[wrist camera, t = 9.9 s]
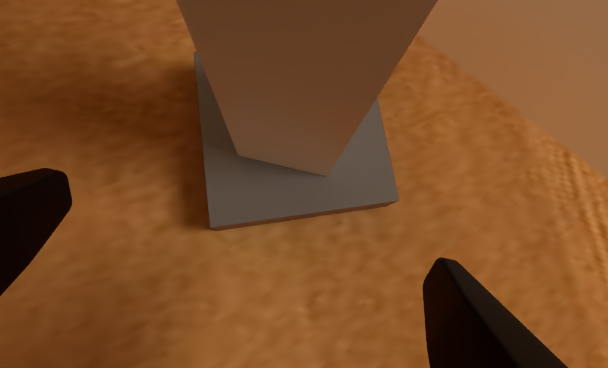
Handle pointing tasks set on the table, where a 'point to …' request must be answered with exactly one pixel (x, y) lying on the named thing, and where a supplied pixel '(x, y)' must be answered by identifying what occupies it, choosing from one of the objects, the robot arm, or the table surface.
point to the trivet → (289, 174)
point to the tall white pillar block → (299, 69)
